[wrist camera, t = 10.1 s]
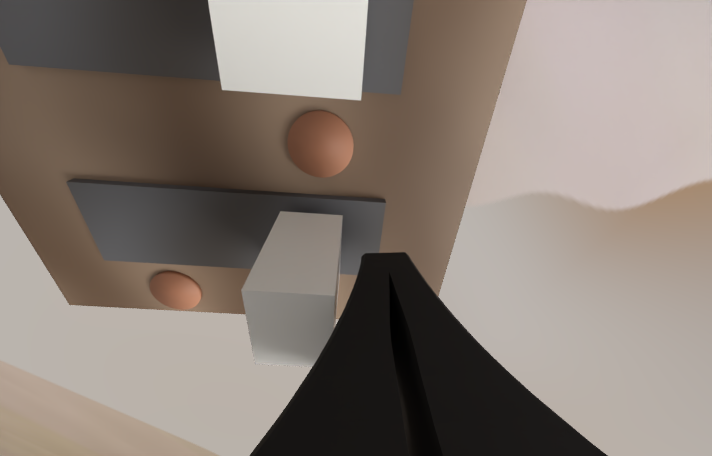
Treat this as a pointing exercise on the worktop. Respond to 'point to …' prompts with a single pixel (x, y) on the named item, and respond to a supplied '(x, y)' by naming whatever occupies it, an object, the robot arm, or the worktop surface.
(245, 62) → the knob
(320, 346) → the knob
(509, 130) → the worktop surface
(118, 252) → the switch board
